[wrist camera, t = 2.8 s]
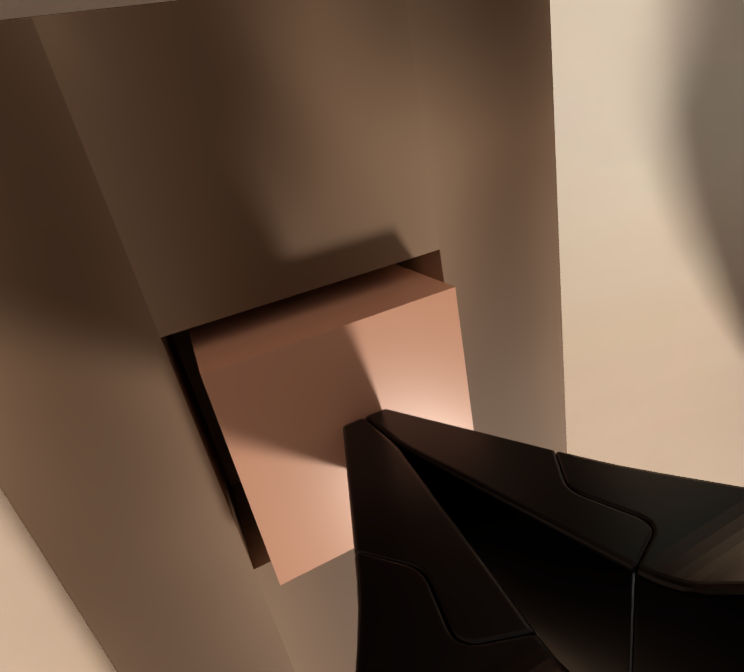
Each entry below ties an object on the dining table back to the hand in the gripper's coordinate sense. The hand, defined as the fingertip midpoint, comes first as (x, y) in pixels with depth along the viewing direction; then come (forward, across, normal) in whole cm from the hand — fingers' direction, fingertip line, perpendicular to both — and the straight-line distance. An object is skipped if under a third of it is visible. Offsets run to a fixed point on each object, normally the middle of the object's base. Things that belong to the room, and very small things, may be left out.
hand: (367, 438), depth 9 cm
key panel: (+4, 0, +6) cm, 8 cm away
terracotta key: (+3, 0, 0) cm, 3 cm away
